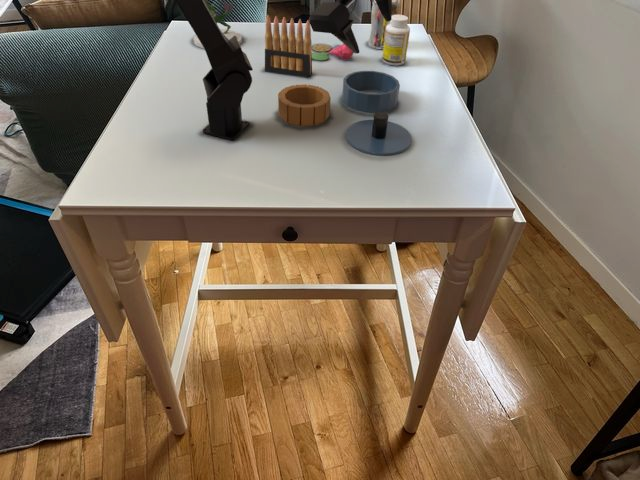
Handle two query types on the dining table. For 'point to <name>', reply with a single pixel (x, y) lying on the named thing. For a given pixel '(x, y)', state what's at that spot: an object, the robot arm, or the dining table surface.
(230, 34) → the monster figurine
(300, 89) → the brown grooved ring
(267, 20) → the ammunition clip
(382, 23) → the clear pen holder cup
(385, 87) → the pot
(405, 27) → the supplement bottle
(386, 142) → the pot lid
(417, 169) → the dining table surface
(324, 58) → the toy pieces
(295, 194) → the dining table surface
